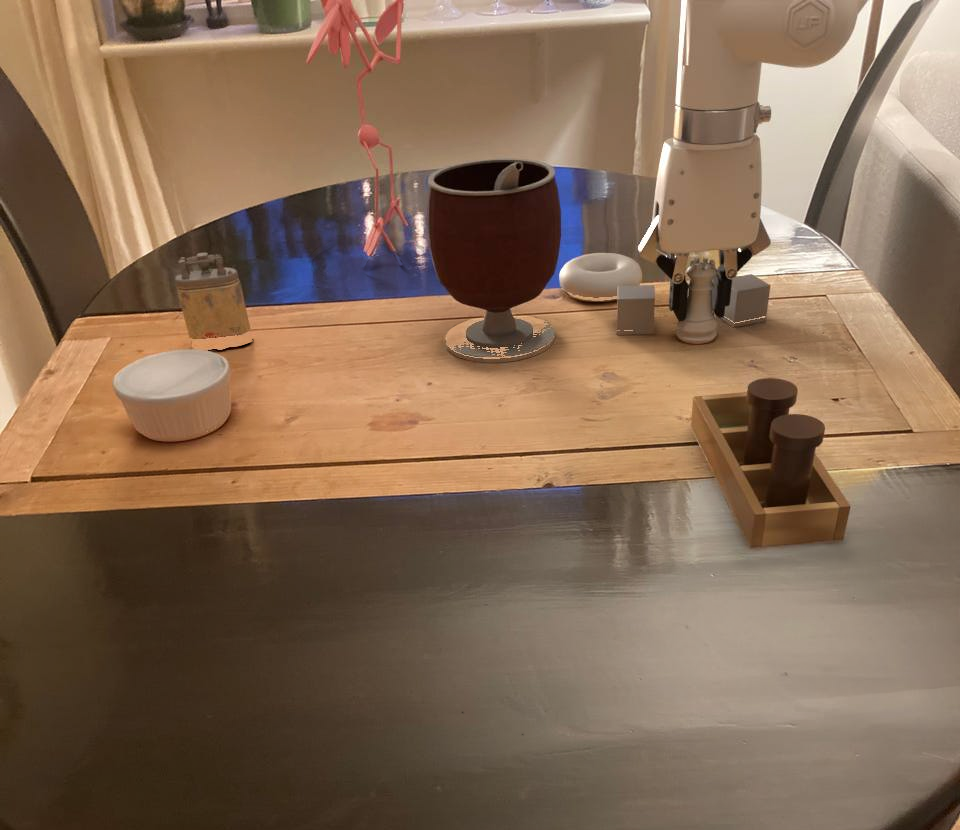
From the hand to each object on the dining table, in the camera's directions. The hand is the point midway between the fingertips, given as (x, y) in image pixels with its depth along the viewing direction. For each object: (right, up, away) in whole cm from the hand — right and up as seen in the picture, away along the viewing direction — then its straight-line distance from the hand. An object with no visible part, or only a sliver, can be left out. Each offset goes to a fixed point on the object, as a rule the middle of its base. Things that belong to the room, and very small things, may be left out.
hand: (698, 313), depth 102 cm
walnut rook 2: (0, -25, -27) cm, 37 cm away
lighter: (-53, -1, +9) cm, 54 cm away
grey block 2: (+6, +1, +5) cm, 8 cm away
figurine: (-40, +18, +30) cm, 53 cm away
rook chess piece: (0, -2, +2) cm, 3 cm away
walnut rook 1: (0, -21, -23) cm, 31 cm away
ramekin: (-53, -13, -6) cm, 55 cm away
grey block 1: (-6, 0, +5) cm, 8 cm away
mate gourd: (-21, -2, +4) cm, 21 cm away
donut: (-9, +7, +14) cm, 18 cm away
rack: (0, -22, -22) cm, 31 cm away
